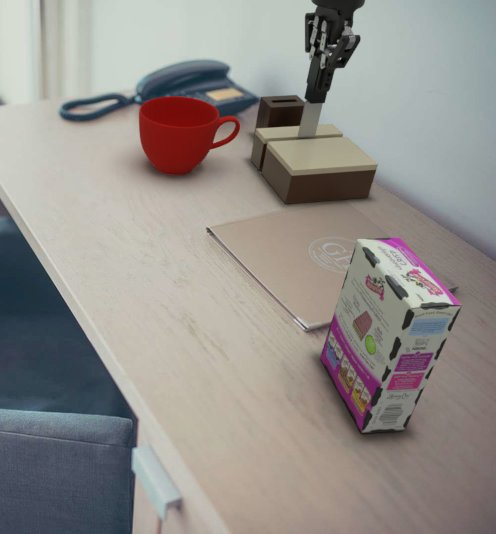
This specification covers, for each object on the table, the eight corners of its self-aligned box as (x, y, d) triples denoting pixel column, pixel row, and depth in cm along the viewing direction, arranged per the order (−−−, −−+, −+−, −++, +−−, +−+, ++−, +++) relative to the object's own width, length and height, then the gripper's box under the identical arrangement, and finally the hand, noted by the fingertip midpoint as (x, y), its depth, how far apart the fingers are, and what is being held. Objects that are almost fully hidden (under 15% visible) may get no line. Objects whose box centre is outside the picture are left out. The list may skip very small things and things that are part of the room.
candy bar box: (408, 431, 64) (466, 306, 55) (361, 435, 64) (411, 309, 54) (359, 354, 73) (402, 234, 64) (317, 356, 73) (354, 236, 63)
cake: (338, 168, 110) (347, 136, 107) (368, 197, 102) (378, 164, 99) (261, 174, 108) (267, 141, 105) (285, 204, 100) (292, 170, 97)
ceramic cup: (242, 183, 105) (252, 126, 100) (140, 185, 104) (144, 128, 98) (225, 148, 116) (232, 95, 110) (131, 150, 115) (134, 96, 109)
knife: (309, 140, 108) (329, 53, 99) (316, 146, 106) (337, 59, 98) (293, 141, 108) (311, 54, 99) (299, 147, 106) (318, 59, 97)
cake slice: (324, 154, 114) (332, 123, 111) (335, 165, 111) (343, 133, 108) (250, 159, 112) (255, 128, 109) (258, 170, 109) (264, 138, 106)
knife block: (288, 132, 122) (296, 94, 118) (299, 144, 118) (308, 105, 114) (253, 134, 121) (260, 96, 116) (263, 146, 117) (271, 107, 112)
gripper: (395, -20, 86) (361, 103, 96) (345, -41, 97) (319, 71, 107) (343, -19, 85) (314, 106, 95) (299, -41, 96) (277, 73, 106)
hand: (317, 87), depth 101 cm, fingers closed on knife, 2 cm apart
